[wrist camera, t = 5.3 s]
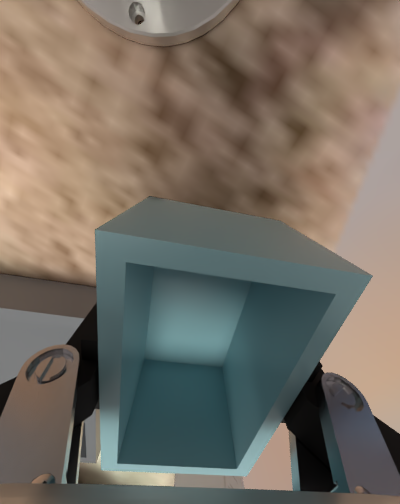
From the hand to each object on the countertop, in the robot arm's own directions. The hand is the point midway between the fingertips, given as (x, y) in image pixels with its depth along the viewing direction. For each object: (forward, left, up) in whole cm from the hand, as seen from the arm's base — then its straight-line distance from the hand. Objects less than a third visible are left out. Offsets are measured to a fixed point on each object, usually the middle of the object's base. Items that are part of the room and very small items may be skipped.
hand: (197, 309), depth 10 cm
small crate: (0, 0, -1) cm, 1 cm away
